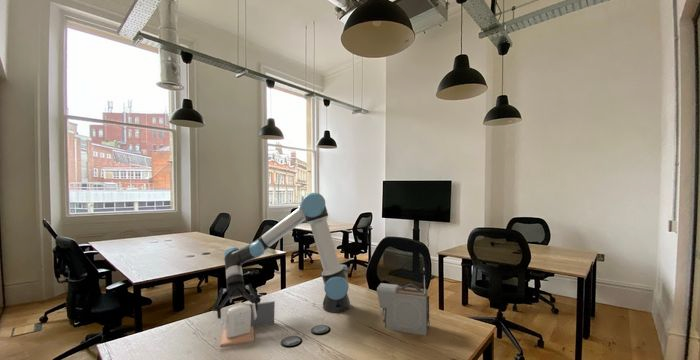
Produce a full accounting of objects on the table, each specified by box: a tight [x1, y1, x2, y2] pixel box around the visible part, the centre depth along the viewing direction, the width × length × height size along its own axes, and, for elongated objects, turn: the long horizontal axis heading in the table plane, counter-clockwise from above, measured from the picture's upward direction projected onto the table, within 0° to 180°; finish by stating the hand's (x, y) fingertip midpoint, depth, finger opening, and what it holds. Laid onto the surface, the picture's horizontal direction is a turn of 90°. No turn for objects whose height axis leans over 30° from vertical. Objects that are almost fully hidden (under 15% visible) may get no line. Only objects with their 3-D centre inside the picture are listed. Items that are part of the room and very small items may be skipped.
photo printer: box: [225, 304, 251, 338], centre depth 126 cm, size 10×4×12 cm, turn 123°
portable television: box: [376, 267, 431, 336], centre depth 136 cm, size 12×24×30 cm, turn 70°
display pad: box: [219, 326, 255, 347], centre depth 126 cm, size 13×13×1 cm
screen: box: [245, 300, 275, 327], centre depth 137 cm, size 14×2×10 cm, turn 108°
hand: (239, 321), depth 124 cm, fingers open, 13 cm apart
